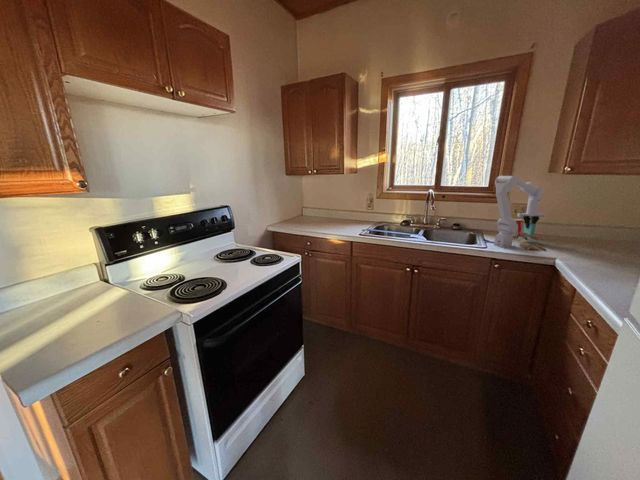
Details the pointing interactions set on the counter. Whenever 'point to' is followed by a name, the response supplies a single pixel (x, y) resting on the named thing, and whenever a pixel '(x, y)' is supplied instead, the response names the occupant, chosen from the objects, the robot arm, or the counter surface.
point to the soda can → (519, 231)
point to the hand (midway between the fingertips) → (529, 228)
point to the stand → (528, 240)
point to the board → (530, 229)
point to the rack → (536, 248)
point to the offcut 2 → (526, 246)
